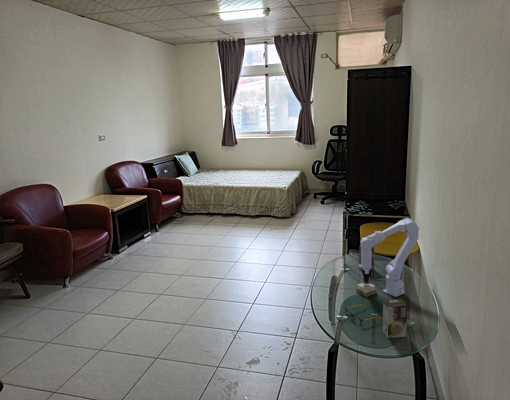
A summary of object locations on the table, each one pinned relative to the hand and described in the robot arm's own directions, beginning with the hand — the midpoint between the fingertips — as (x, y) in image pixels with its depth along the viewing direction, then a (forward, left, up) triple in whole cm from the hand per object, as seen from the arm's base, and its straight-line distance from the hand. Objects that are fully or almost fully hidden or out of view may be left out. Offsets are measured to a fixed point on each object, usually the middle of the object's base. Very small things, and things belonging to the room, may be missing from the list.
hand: (366, 280), depth 220 cm
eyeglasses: (-18, +22, -8) cm, 29 cm away
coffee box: (-37, +22, -8) cm, 44 cm away
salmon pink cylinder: (0, 0, -1) cm, 1 cm away
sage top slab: (0, 0, -6) cm, 6 cm away
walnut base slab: (0, 0, -8) cm, 8 cm away
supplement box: (+23, -26, -8) cm, 35 cm away
